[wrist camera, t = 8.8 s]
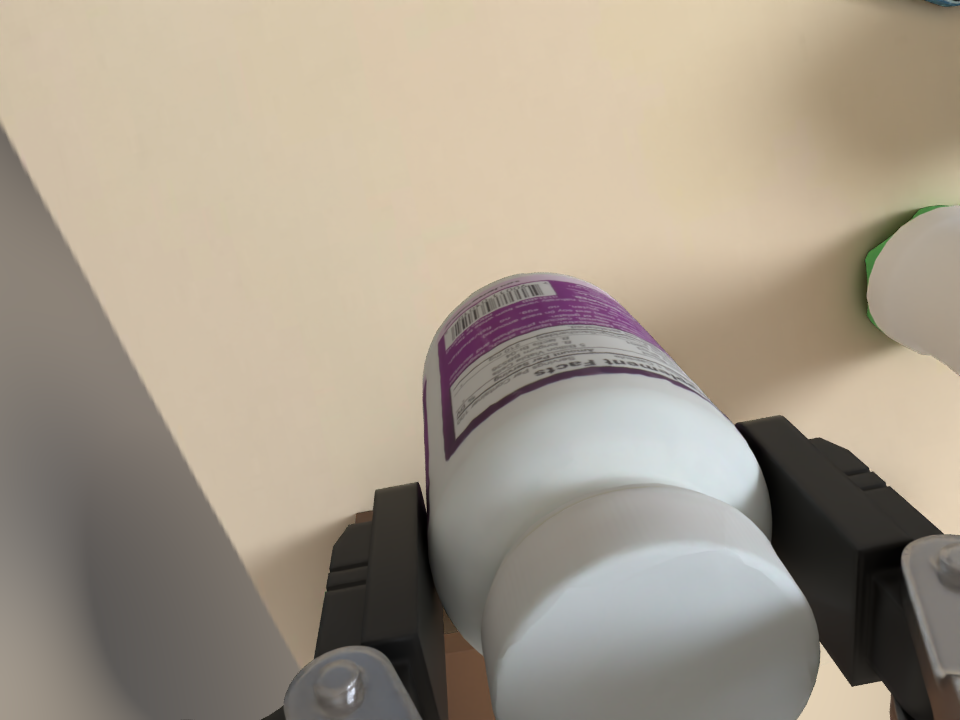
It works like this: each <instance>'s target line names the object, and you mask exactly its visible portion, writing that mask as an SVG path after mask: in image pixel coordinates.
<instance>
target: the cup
mask: <svg viewBox="0 0 960 720" xmlns="http://www.w3.org/2000/svg"><path fill="white" fill-rule="evenodd" d="M865 263H866V272H867V286H868V288H867V301H868V307H867V308H868V310H867V316H868V318H869V319H870V321H871V322H872V323H873V324H874V325H875V326H876V327H877V328H878V329H879V330H880V331H882V332H883V333H884V334H886V335H887V336H888V337H889V338H891V339H893V340H895V341H896V342H898V343H900V344H902V345H903V346H905V347H907V348H909V349H911V350H913V351H915V352H917V353H919V354H922V355H931V356H933V357H934V358H936V359H937V360H939V361H940V362H942V363H943V364H945V365H947V366H948V367H949V368H950V369H951V370H953V371H954V372H955V373H956V374H958V375H959V376H960V206H959V205H956V206H945V205H938V206H930V207H925V208H921V209H919V210H918V212H917V213H916V214H915V215H914V216H913V218H912V219H911V220H910V221H909V222H907V223H906V224H904V225H903V226H901V227H900V228H899V229H898V231H897V232H896V233H894V234H893V235H892V236H891V237H889V238H888V239H887V240H885V241H884V242H883V243H881V244H879V245H878V246H877V247H876V248H874V249H872V250H870V251H869V253H868V255H867V257H866V259H865Z"/></svg>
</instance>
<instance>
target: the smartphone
mask: <svg viewBox="0 0 960 720" xmlns="http://www.w3.org/2000/svg"><path fill="white" fill-rule="evenodd" d="M925 1H928V2H931V3H934V4H937V5H940V6H944V7H950V6H959V5H960V0H925Z"/></svg>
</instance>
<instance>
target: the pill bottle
mask: <svg viewBox="0 0 960 720" xmlns="http://www.w3.org/2000/svg"><path fill="white" fill-rule="evenodd" d="M423 419H424V444H425V470H426V501H427V548H428V560H429V565H430V569H431V573H432V577H433V581H434V585H435V588H436V591H437V593H438V596H439V598H440V601H441V603H442V605H443V607H444V609H445V611H446V613H447V615H448V616H449V618H450V620H451V621H452V623H453V624H454V625H455V627H456V628H457V630H458V631H459V632H460V634H461V635H462V636H463V638H464V639H465V640H466V641H467V642H468V643H469V644H470V645H471V646H472V647H474V648H475V649H476V650H477V651H478V652H479V653H480V654H481V655H483V656H484V661H485V667H486V674H487V680H488V686H489V692H490V698H491V704H492V709H493V713H494V716H495V719H496V720H797V718H798V717H799V716H800V714H801V712H802V711H803V709H804V708H805V706H806V704H807V702H808V700H809V697H810V695H811V692H812V690H813V687H814V685H815V682H816V677H817V673H818V669H819V664H820V643H819V633H818V628H817V624H816V621H815V618H814V615H813V612H812V609H811V607H810V605H809V603H808V601H807V599H806V597H805V596H804V594H803V593H802V591H801V590H800V588H799V587H798V585H797V584H796V582H795V581H794V579H793V578H792V576H791V575H790V573H789V572H788V570H787V569H786V568H785V566H784V565H783V563H782V562H781V560H780V559H779V557H778V556H777V554H776V552H775V551H774V549H773V547H772V545H771V538H772V511H771V503H770V497H769V492H768V488H767V485H766V482H765V479H764V476H763V473H762V470H761V468H760V466H759V464H758V462H757V460H756V458H755V456H754V454H753V452H752V451H751V449H750V448H749V446H748V444H747V442H746V440H745V439H744V437H743V436H742V435H741V433H740V432H739V431H738V429H737V428H736V427H735V426H734V424H733V423H732V422H731V421H730V420H729V418H728V417H727V416H726V415H724V414H723V413H722V412H721V411H720V410H719V409H718V408H717V407H716V406H715V405H714V404H713V403H712V402H711V400H710V399H709V398H708V397H707V396H706V395H705V394H704V393H703V392H702V390H701V389H700V388H699V387H698V386H697V385H696V384H695V383H694V382H693V381H692V380H691V379H690V378H689V377H688V376H687V375H686V373H685V372H684V371H683V370H682V369H681V368H680V367H679V366H678V365H677V364H676V362H675V361H674V360H673V359H672V358H671V357H670V356H669V355H668V354H667V353H666V352H665V350H664V349H663V348H662V347H661V346H660V345H659V344H658V343H657V342H656V341H655V340H654V339H653V338H652V336H651V335H650V334H649V333H648V332H647V331H646V330H645V329H644V328H643V327H642V326H641V325H640V324H639V323H638V321H637V320H635V319H634V318H633V317H632V316H631V315H630V314H629V313H628V311H627V310H626V309H625V308H624V307H623V306H621V305H620V304H619V303H618V302H617V301H616V300H615V299H614V298H612V297H611V296H610V295H609V294H607V293H606V292H605V291H603V290H602V289H600V288H598V287H597V286H595V285H593V284H591V283H589V282H586V281H584V280H581V279H578V278H575V277H572V276H568V275H563V274H556V273H529V274H516V275H512V276H509V277H505V278H502V279H500V280H497V281H495V282H493V283H490V284H488V285H487V286H485V287H483V288H481V289H479V290H477V291H476V292H474V293H472V294H471V295H470V296H469V297H468V298H467V299H466V300H464V301H463V302H462V303H461V304H460V305H459V306H458V307H456V308H455V309H454V310H453V311H452V312H451V313H450V314H449V315H448V317H447V318H446V319H445V321H444V322H443V323H442V325H441V326H440V327H439V329H438V330H437V332H436V334H435V336H434V338H433V340H432V343H431V345H430V348H429V351H428V353H427V356H426V360H425V365H424V372H423Z"/></svg>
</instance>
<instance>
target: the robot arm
mask: <svg viewBox="0 0 960 720" xmlns="http://www.w3.org/2000/svg"><path fill="white" fill-rule="evenodd" d="M735 427H736V428H737V429H738V431H739V432H740V433H741V435H742V436H743V437H744V439H745V440H746V442H747V444H748V446H749V448H750V449H751V451H752V452H753V454H754V456H755V458H756V460H757V462H758V464H759V466H760V468H761V470H762V473H763V476H764V479H765V482H766V485H767V488H768V492H769V497H770V503H771V511H772V538H771V545H772V547H773V549H774V551H775V552H776V554H777V556H778V557H779V559H780V560H781V562H782V563H783V565H784V566H785V568H786V569H787V570H788V572H789V573H790V575H791V576H792V578H793V579H794V581H795V582H796V584H797V585H798V587H799V588H800V590H801V591H802V593H803V594H804V596H805V597H806V599H807V601H808V603H809V605H810V607H811V609H812V612H813V615H814V618H815V621H816V624H817V628H818V633H819V641H820V642H821V644H822V645H823V647H824V648H825V649H826V651H827V652H828V654H829V655H830V656H831V658H832V659H833V661H834V662H835V663H836V665H837V666H838V668H839V669H840V671H841V672H842V673H843V675H844V676H845V678H846V679H847V681H848V682H849V683H850V684H851V686H852V687H853V686H858V685H863V684H868V683H873V682H878V681H882V682H883V683H884V684H885V686H886V687H887V688H888V690H889V691H890V692H891V702H890V720H960V535H951V534H943V533H942V532H941V531H940V530H939V529H938V528H937V527H936V526H934V525H933V524H932V523H931V522H930V521H929V520H928V519H926V518H925V517H924V516H923V515H922V514H921V513H920V512H918V511H917V510H916V509H915V508H914V507H913V506H912V505H911V504H909V503H908V502H907V501H906V500H905V499H904V498H903V497H901V496H900V495H899V494H898V493H897V492H896V491H895V490H893V489H892V488H891V487H890V486H889V487H887V486H886V483H885V482H884V481H883V480H882V479H881V478H880V477H879V476H878V475H876V474H875V473H874V472H870V471H869V468H868V467H867V466H866V465H865V464H864V463H863V462H862V461H860V460H859V459H858V458H857V457H856V456H855V455H854V454H852V453H851V452H850V451H849V450H847V449H845V448H842V447H840V446H838V445H836V444H833V443H831V442H829V441H826V440H824V439H822V438H820V437H819V438H814V439H807V438H806V437H805V436H804V435H803V434H802V433H801V432H800V431H799V430H798V429H797V428H796V427H795V426H794V425H792V424H791V423H790V422H789V421H788V420H787V419H786V418H785V417H784V416H781V415H777V416H772V417H766V418H761V419H756V420H750V421H745V422H740V423H736V424H735ZM329 569H330V573H329V574H328V579H327V585H326V589H327V592H325V597H324V603H323V608H322V614H321V620H320V626H319V632H318V637H317V643H316V649H315V655H314V660H313V661H311V662H310V663H308V664H307V665H306V666H305V667H304V668H303V669H302V670H301V671H300V672H299V673H298V674H297V675H296V676H295V678H294V679H293V681H292V682H291V684H290V685H289V687H288V690H287V692H286V695H285V699H284V705H283V706H282V707H281V708H280V709H278V710H277V711H275V712H274V713H272V714H271V715H269V716H267V717H265V718H263V719H261V720H448V700H447V681H446V661H445V642H444V622H443V605H442V603H441V601H440V598H439V596H438V593H437V591H436V588H435V585H434V581H433V577H432V573H431V569H430V565H429V560H428V548H427V513H426V509H425V504H424V500H423V496H422V491H421V488H420V485H419V483H418V482H415V483H410V484H404V485H399V486H394V487H388V488H383V489H378V490H376V491H375V496H374V506H373V517H372V521H367V522H362V523H356V524H351V525H348V527H347V528H346V530H345V531H344V532H343V534H342V535H341V536H340V538H339V539H338V541H337V542H336V543H335V545H334V546H333V550H332V556H331V562H330V568H329Z"/></svg>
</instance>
